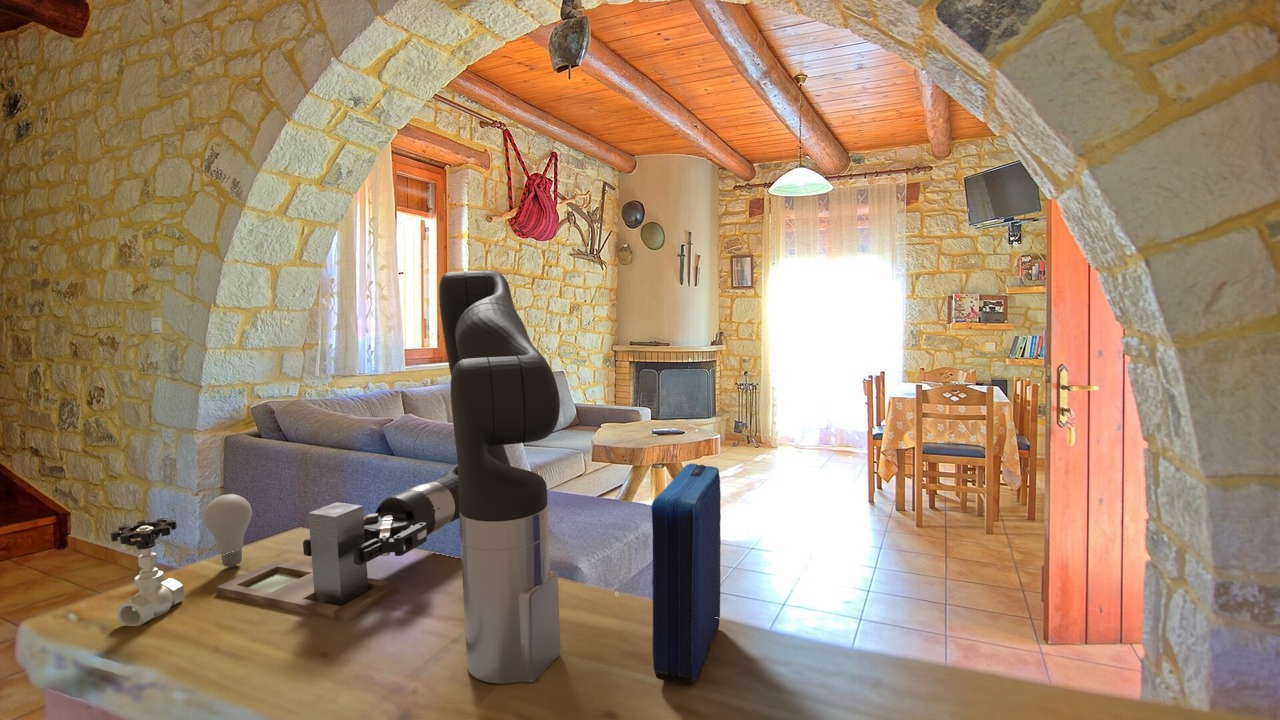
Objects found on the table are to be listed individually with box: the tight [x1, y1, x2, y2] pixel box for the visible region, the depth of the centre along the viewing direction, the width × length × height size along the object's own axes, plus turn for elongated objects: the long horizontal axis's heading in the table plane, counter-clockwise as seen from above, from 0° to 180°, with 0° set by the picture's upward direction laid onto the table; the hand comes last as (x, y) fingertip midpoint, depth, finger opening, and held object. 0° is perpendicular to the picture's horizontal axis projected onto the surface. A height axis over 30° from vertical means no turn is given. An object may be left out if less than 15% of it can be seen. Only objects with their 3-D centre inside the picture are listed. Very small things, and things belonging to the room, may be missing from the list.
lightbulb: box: [203, 493, 253, 568], centre depth 101 cm, size 6×6×11 cm
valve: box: [110, 517, 185, 627], centre depth 85 cm, size 7×7×12 cm
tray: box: [216, 560, 400, 623], centre depth 91 cm, size 22×9×2 cm, turn 68°
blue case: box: [651, 463, 722, 685], centre depth 74 cm, size 14×5×20 cm, turn 162°
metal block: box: [308, 501, 369, 607], centre depth 88 cm, size 4×4×12 cm
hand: (330, 553), depth 87 cm, fingers open, 8 cm apart
